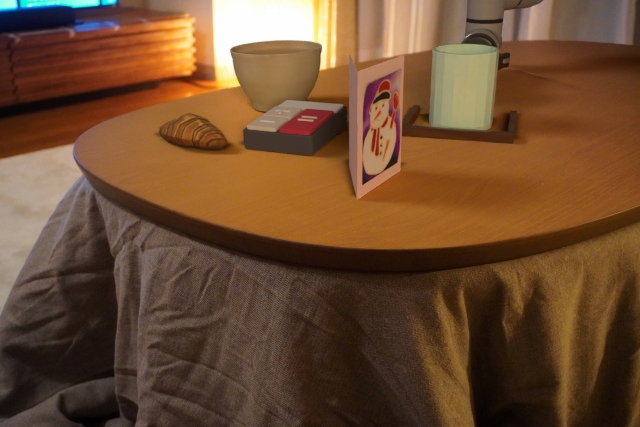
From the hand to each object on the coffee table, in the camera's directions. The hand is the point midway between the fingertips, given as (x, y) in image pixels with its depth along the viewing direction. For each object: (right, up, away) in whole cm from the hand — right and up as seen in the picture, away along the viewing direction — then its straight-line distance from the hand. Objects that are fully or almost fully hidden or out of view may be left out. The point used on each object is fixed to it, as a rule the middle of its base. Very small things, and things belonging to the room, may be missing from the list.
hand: (465, 76), depth 102 cm
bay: (-2, -9, -3) cm, 10 cm away
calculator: (-27, -11, -7) cm, 30 cm away
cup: (-1, -8, -2) cm, 9 cm away
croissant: (-43, -13, -9) cm, 46 cm away
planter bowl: (-32, -3, +11) cm, 34 cm away
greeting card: (-19, -19, -24) cm, 36 cm away
